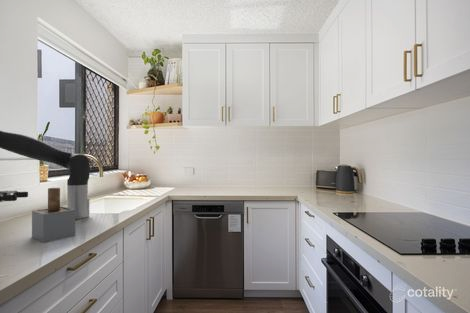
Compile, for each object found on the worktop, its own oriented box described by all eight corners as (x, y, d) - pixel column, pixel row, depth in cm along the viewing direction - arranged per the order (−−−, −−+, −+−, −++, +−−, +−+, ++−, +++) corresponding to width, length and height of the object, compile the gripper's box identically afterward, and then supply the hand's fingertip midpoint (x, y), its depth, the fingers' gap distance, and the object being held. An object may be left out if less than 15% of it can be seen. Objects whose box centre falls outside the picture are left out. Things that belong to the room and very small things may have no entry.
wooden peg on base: (60, 210, 110) (61, 186, 110) (69, 213, 105) (70, 188, 105) (37, 214, 103) (37, 188, 103) (46, 217, 98) (46, 190, 98)
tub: (62, 230, 112) (63, 206, 112) (75, 235, 105) (75, 209, 105) (31, 237, 103) (32, 210, 103) (43, 242, 96) (43, 214, 96)
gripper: (-45, 189, 90) (12, 188, 94) (-18, 185, 103) (31, 184, 108) (-45, 211, 90) (12, 209, 94) (-18, 204, 103) (30, 202, 108)
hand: (22, 196), depth 101 cm, fingers open, 8 cm apart
